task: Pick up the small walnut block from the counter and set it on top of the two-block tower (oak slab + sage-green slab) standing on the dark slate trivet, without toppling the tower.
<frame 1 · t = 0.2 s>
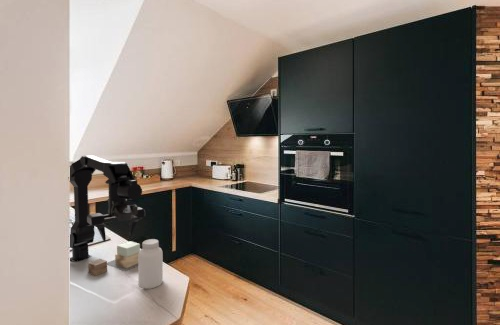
hand: (117, 238, 101), 14 cm above the counter, fingers open, 9 cm apart
walnut block: (97, 273, 103), on the counter
slate board: (126, 264, 111), on the counter
tower mid: (128, 253, 111), point 5 cm above the counter, touching tower base
tower base: (128, 262, 111), point 1 cm above the counter, touching slate board, tower mid
pill bottle: (150, 284, 96), on the counter
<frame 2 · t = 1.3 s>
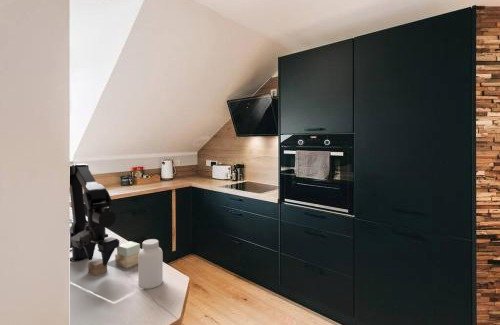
hand: (97, 262, 103), 4 cm above the counter, fingers open, 9 cm apart
nothing on the counter moved.
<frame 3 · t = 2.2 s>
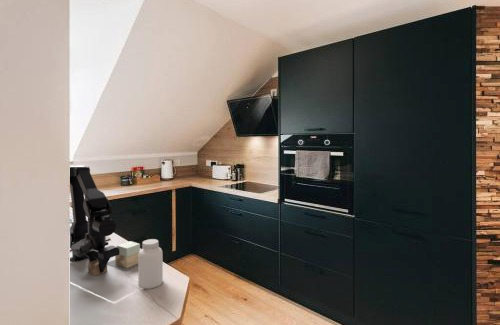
hand: (97, 270, 103), 1 cm above the counter, fingers closed on walnut block, 4 cm apart
walnut block: (97, 273, 103), on the counter, touching gripper
everything else where it was.
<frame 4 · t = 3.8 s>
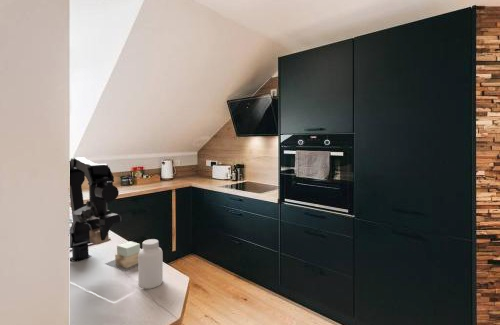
hand: (99, 238, 103), 13 cm above the counter, fingers closed on walnut block, 4 cm apart
walnut block: (99, 241, 103), point 12 cm above the counter, touching gripper
everything else where it was.
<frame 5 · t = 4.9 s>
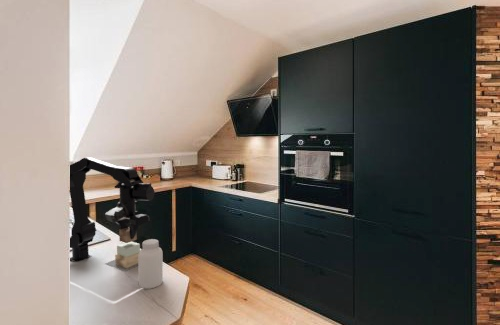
hand: (128, 237, 110), 11 cm above the counter, fingers closed on walnut block, 4 cm apart
walnut block: (128, 240, 110), point 10 cm above the counter, touching gripper
everything else where it was.
when the fingers open (10 cm above the counter, at t = 5.4 s): walnut block drops 1 cm, resting on tower mid.
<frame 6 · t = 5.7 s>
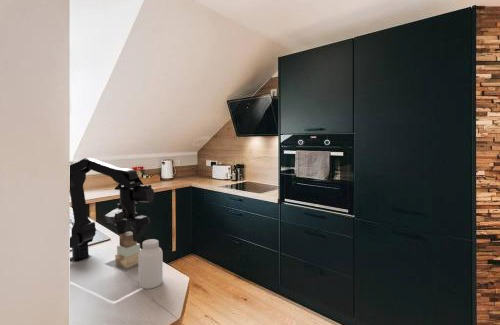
hand: (128, 239, 110), 10 cm above the counter, fingers open, 8 cm apart
walnut block: (128, 244, 110), point 8 cm above the counter, touching tower mid
tower mid: (128, 253, 111), point 5 cm above the counter, touching tower base, walnut block
everything else where it was.
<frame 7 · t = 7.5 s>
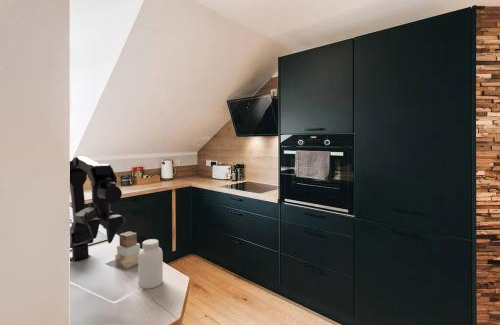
hand: (102, 240, 101), 13 cm above the counter, fingers open, 9 cm apart
nothing on the counter moved.
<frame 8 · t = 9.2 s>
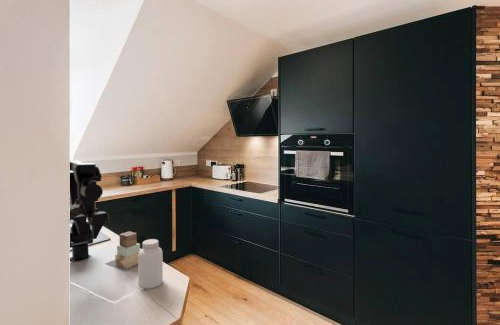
hand: (87, 236, 105), 13 cm above the counter, fingers open, 9 cm apart
nothing on the counter moved.
at the end: walnut block 0.1 cm off-centre on the tower mid, point 3.5 cm above the tower mid's base; tower mid 0.0 cm off-centre on the tower base, point 4.0 cm above the tower base's base; walnut block tilted 0° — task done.
